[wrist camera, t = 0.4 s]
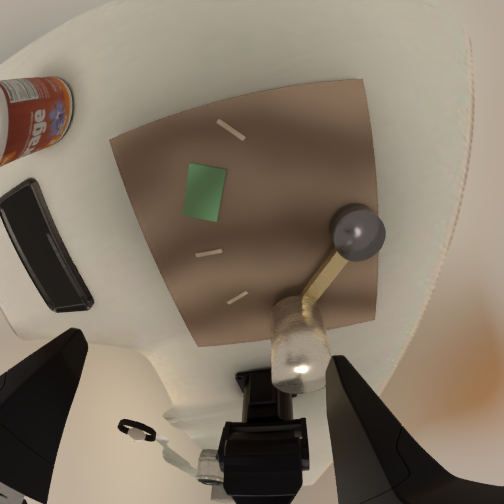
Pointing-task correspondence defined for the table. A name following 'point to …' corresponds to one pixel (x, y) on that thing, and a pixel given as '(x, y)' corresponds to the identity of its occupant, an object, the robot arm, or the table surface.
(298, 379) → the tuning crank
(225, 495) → the coffee mug
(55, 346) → the robot arm
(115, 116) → the table surface
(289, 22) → the table surface
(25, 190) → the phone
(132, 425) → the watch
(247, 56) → the table surface
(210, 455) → the glass jar
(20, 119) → the pill bottle
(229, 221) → the wooden serving board
